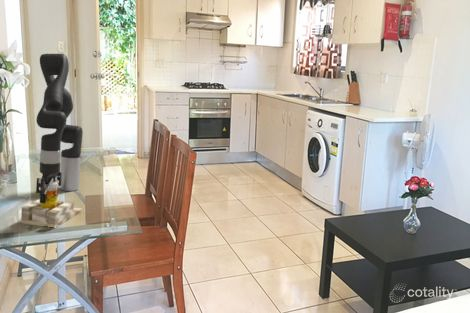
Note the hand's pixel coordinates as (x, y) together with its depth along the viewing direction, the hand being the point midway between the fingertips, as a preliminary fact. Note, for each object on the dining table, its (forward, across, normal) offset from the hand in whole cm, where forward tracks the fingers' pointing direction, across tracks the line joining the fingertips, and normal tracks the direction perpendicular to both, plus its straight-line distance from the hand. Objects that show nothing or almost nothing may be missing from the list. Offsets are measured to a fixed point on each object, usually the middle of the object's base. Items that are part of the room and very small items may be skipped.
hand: (48, 199), depth 164 cm
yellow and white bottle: (+7, 0, 0) cm, 7 cm away
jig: (+9, -4, 0) cm, 9 cm away
